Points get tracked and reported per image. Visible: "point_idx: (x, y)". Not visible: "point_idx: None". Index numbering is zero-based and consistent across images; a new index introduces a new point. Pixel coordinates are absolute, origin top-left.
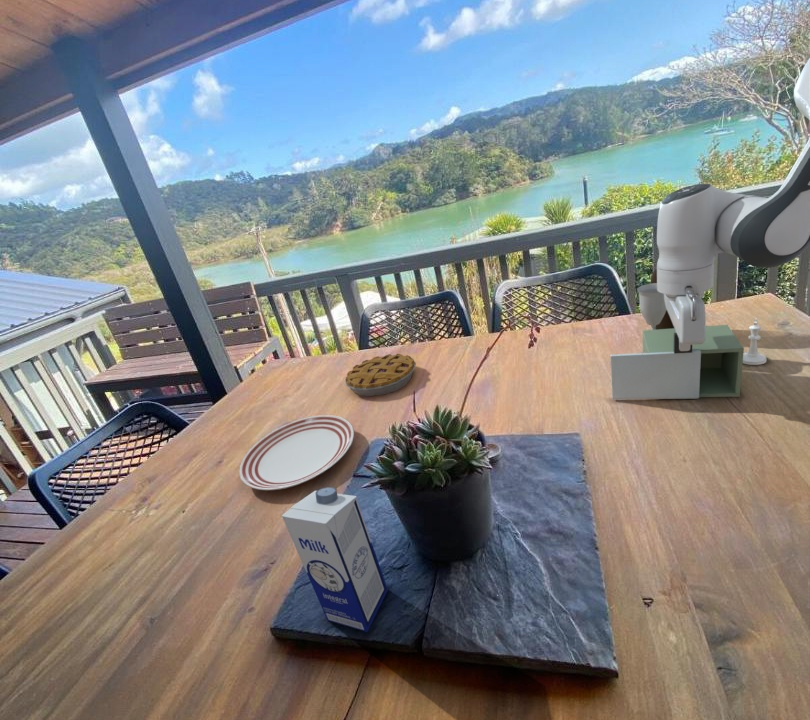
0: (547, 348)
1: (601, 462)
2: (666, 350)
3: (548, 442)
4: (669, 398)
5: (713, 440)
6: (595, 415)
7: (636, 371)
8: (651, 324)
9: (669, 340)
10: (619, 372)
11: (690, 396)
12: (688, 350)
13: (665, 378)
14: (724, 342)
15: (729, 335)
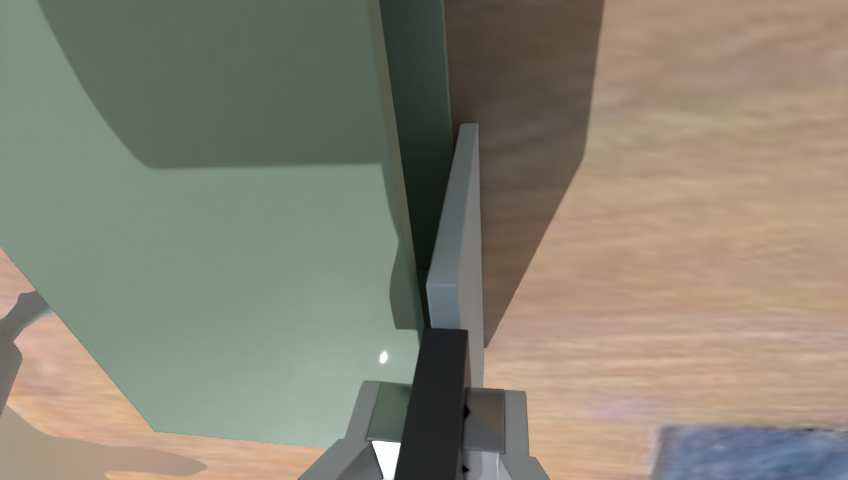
0: (183, 442)
1: (839, 401)
2: None
3: (695, 471)
4: (480, 223)
5: (833, 109)
6: (569, 392)
7: None
8: (19, 359)
9: (263, 375)
10: None
11: (478, 159)
12: (525, 393)
13: (476, 300)
14: (237, 98)
15: (53, 26)
